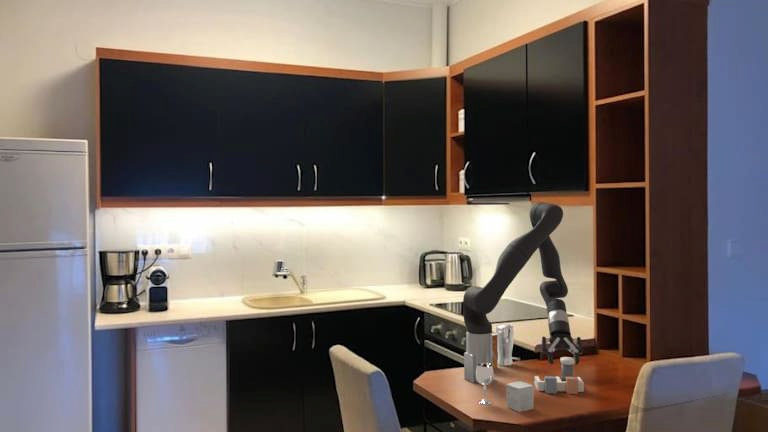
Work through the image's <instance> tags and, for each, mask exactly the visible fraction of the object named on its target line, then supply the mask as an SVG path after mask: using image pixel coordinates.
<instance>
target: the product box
mask: <svg viewBox="0 0 768 432" xmlns="http://www.w3.org/2000/svg"><path fill="white" fill-rule="evenodd" d="M534 391H535V385H532V384H530V383H527V382H524V381H521V380H519V381H514V382H509V383H506V407H507V408H508V409H511V410H513V411H516V412H519V413H522V411H523V412H526V411H529V410H534V403H535V400H534V398H535V394H534V393H535V392H534Z"/></svg>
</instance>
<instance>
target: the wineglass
mask: <svg viewBox="0 0 768 432" xmlns="http://www.w3.org/2000/svg"><path fill="white" fill-rule="evenodd" d="M494 379H495V371H494V369H493V367H492V364H489V363H479V364H478V365H477V369H476V380H477V381H478V382H477V383H479V384H480V385H483V395H484V397H483V399H480V400H478V401H477V403H478V402H479V403H478V404H480V403H481V404H480V405H485V404H486V405H491V404H492V403H493V401H492V400H489V399H487V395H486V393H487V386H489V385H491V384H492V383H493V382H494Z"/></svg>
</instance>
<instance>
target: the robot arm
mask: <svg viewBox="0 0 768 432" xmlns="http://www.w3.org/2000/svg"><path fill="white" fill-rule="evenodd" d="M563 217H564V211H563V208H562V207H561V206H560V205H558V204H554V203H549V202H544V201H537V202H535V203H533V204H532V205H531V207H530V210H529V219H530V220H529V221H530V223H531V226H532V228H531V230H528V232H526V233H524V234H522V235H520V236H518V237H517V238H515V239H513V240H512V241H511V242H509V244H508V245H507V246H506V247H505V248H504V250H503V251H502V252H501V253H500V255H499V257H498V259H497V261H496V262H497V263H496V267H495V271H494V273H493V275H492V277H491V278H490V279H489V281H488V282H487V283H485V285H484V286H483V287H481V286H477V285H476V286H475V285H473V286H470V287H468V288H467V289H466V290H465V292H464V294H463V299H462V306H463V307H462V308H463V322H464V326H465V330H466V331H465V332H466V335H465V336H466V343H465V344H466V347H465V348H466V351H465V352H464V353H463V359H464V360H463V364H464V365H463V366H464V367H463V368H464V369H463V372H464V373H463V375H464V376H463V377H464V379H465V380H467V381H469V382H471V383H478V381H477V380H476V369H477V365H478V364H479V363H489V364H492V333H493V325H492V323H491V322H490V321H489V319H488V318H487V317H488V316H487V314H490V313H492V311H494V309H495V308H496V306H497V305H498V304H499V302H500V300H501V299H502V297H503V295H504V294H505V292H506V291H507V289H508V288H509V286H510V285H511V284H512V282H513V281H514V280H515V278H517V276H518V274H520V273H521V271H522V270H523V268H524V267H525V266H526V264H527V263H528V262H529V261H530V259H531V258H532V256H533V254H534V255H535V252H536V251H537V250H538V251H539V255H540V256H539V257H540V263H541V271H542V275H543V277H545V278H548V279H554V280H545V281H543V282H541V283H540V285H539V293H540V295H541V297H542V299H543V301H544V303H545V306H546V311H547V326H548V331H549V332H548V333H549V337H546V336H542V337H541V353H542V354H543V355H547V359H548V363H549V364H550V365H553V364H554V357H553V355H554V354H553V353H554V352H555V350H557V351H568V352H569V353H571V354H572V355H573V358H574V365H575V366H577V365H578V364H579V363H580V355H581V356H582V355H583V352H584V347H583V343H582V339H581V337H580V336H577V338H573V337H572V333H571V328H570V327H571V326H570V320H569V317H568V313H567V305H566V302H565V301H564V300H563V298H566V297H567V296H568V294H569V288H568V285H567V283H566V281H565V279H564V276H563V273H562V269H561V259H560V255H559V252H558V250H557V248H556V246H555V244H554V242H553V240H552V238H551V236H550V235H551V234H552V233H554V231H555V230H556V229H557V228H558V227H560V226H559V225H560V224H561V222H562V221H563ZM548 343H550V344H551V346H550V347H549V348H547V345H548ZM573 343H574V344H575V345H574V344H573ZM575 346H577V348H576V347H575Z"/></svg>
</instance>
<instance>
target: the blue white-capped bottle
mask: <svg viewBox="0 0 768 432" xmlns="http://www.w3.org/2000/svg"><path fill="white" fill-rule="evenodd" d="M559 359H560V360H559V361H560V362H559V363H560V364H561V366H560V367H561V368H560V369H561V371H560V372H561V373H560V374H561V378H560V379H561V381H563V382H566V377H575V376H574V374H575V373H574V365H575V361H574V357H570V356H562V357H560V358H559Z"/></svg>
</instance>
